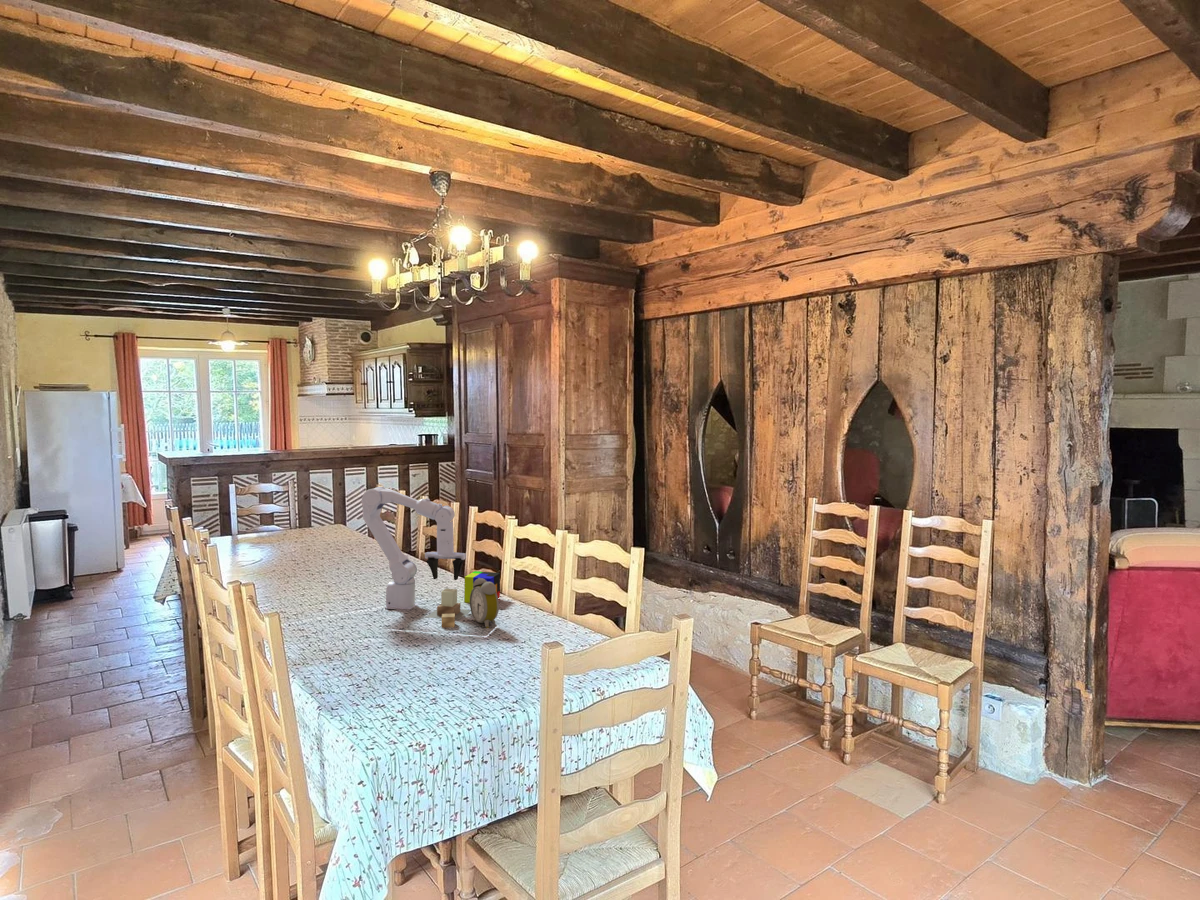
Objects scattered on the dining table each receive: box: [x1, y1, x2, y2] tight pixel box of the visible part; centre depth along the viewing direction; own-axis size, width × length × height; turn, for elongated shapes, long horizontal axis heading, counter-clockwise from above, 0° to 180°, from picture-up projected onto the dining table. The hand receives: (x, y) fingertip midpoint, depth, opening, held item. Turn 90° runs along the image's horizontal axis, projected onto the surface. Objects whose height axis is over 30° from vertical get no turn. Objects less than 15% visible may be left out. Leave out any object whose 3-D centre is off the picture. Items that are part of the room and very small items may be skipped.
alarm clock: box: [469, 578, 500, 629], centre depth 231 cm, size 12×7×15 cm, turn 35°
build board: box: [425, 608, 471, 621], centre depth 241 cm, size 12×12×1 cm
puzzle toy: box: [463, 570, 501, 604], centre depth 260 cm, size 10×10×10 cm
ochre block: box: [441, 614, 456, 629], centre depth 228 cm, size 4×4×4 cm
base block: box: [436, 602, 461, 616], centre depth 241 cm, size 6×6×3 cm
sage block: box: [440, 588, 458, 607], centre depth 241 cm, size 4×4×5 cm
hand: (445, 579), depth 250 cm, fingers open, 7 cm apart
